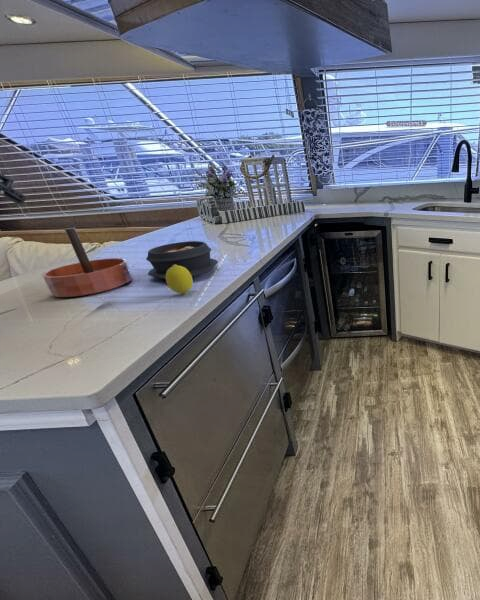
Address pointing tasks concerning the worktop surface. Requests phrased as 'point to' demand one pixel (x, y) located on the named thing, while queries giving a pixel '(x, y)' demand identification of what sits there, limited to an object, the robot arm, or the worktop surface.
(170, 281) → the lemon
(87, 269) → the muddler
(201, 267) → the casserole
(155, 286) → the worktop surface
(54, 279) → the bowl
